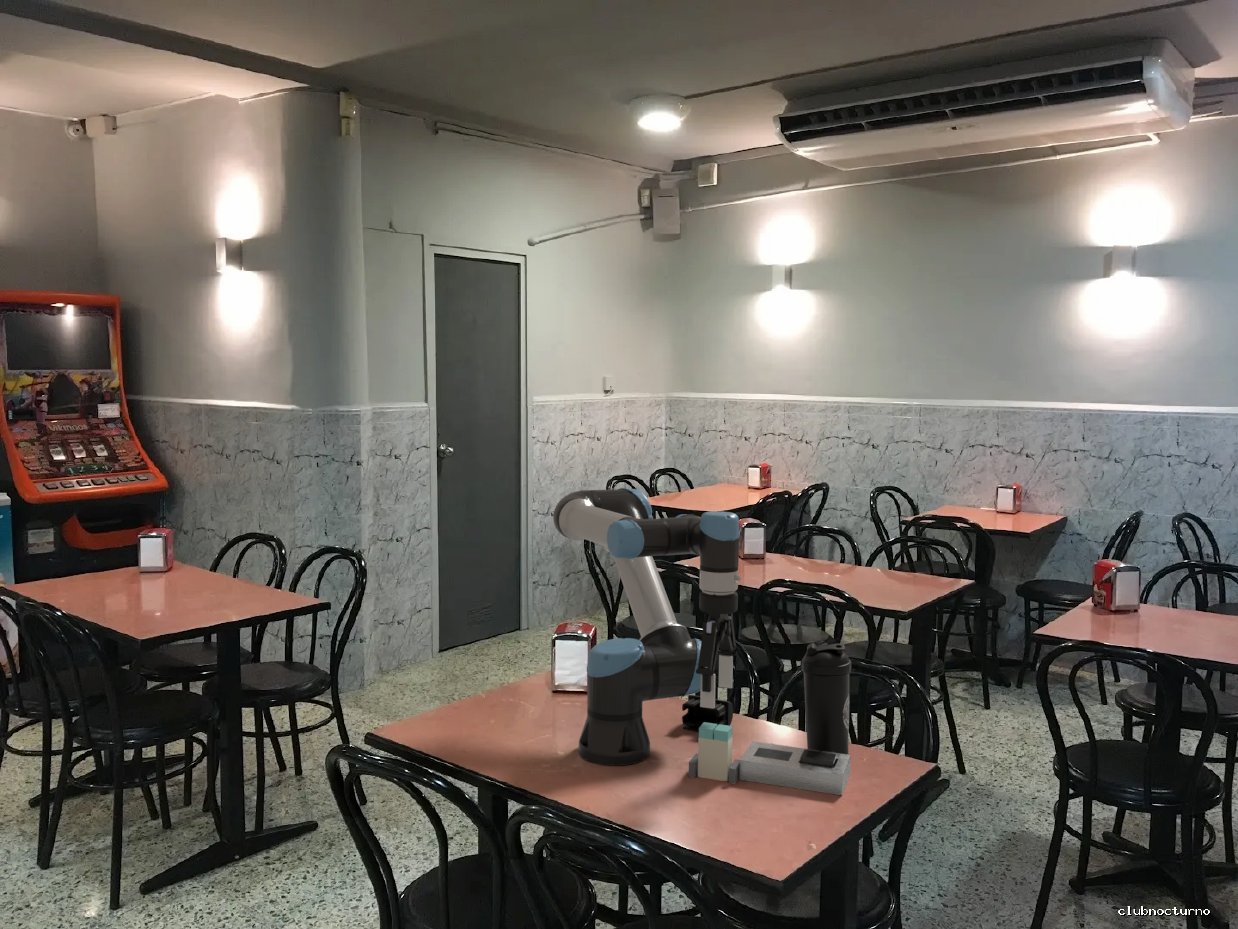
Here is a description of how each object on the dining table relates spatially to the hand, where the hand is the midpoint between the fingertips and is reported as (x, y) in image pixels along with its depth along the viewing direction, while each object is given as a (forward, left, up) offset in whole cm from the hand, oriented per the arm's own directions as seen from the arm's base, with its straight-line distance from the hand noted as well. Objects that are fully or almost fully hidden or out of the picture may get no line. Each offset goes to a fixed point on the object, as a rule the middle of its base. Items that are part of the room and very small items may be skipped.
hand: (716, 697), depth 195 cm
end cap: (-9, +26, -16) cm, 32 cm away
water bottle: (+19, +21, -16) cm, 33 cm away
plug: (0, 0, -16) cm, 16 cm away
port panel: (+15, +6, -16) cm, 23 cm away
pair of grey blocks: (0, 0, -16) cm, 16 cm away
